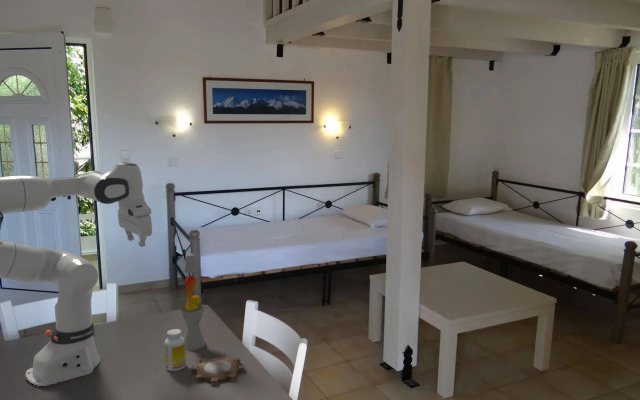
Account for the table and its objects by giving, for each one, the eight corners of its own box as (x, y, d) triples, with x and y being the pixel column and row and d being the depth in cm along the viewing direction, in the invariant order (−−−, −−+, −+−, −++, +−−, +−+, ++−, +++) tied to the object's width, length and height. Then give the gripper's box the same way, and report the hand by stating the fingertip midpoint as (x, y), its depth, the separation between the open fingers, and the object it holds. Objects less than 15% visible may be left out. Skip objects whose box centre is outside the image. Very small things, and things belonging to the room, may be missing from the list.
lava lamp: (188, 352, 181) (185, 259, 175) (176, 344, 188) (173, 254, 182) (210, 344, 187) (207, 254, 182) (198, 337, 194) (195, 249, 188)
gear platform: (212, 391, 156) (212, 386, 155) (180, 372, 167) (180, 367, 167) (255, 370, 169) (255, 365, 168) (223, 354, 180) (222, 349, 180)
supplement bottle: (189, 364, 173) (188, 329, 171) (178, 373, 166) (176, 337, 164) (173, 361, 175) (171, 326, 173) (161, 370, 169) (159, 334, 166)
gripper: (111, 203, 183) (116, 238, 187) (136, 213, 169) (140, 252, 173) (128, 199, 188) (132, 234, 191) (153, 210, 173) (157, 247, 177)
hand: (136, 243), depth 182 cm, fingers open, 8 cm apart
